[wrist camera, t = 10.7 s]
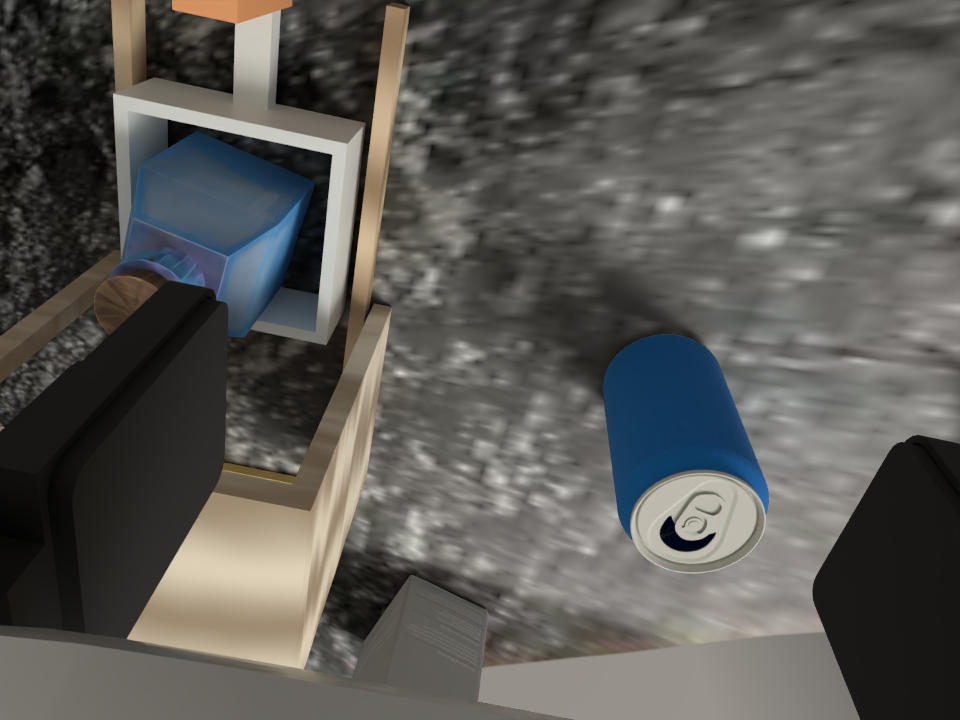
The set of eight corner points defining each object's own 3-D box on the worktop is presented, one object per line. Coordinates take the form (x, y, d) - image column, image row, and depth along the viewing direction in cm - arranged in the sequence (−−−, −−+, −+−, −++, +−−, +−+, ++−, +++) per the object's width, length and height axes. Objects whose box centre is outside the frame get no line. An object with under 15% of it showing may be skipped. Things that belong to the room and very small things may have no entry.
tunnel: (115, 249, 41) (-119, 426, 26) (391, 306, 41) (310, 511, 27) (124, 427, 47) (-62, 650, 33) (366, 475, 47) (288, 716, 33)
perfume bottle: (172, 238, 40) (44, 347, 30) (197, 130, 37) (64, 209, 27) (283, 283, 41) (195, 404, 31) (316, 182, 38) (231, 277, 28)
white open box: (150, -103, 32) (59, -109, 26) (386, -50, 33) (350, -44, 27) (159, 271, 41) (92, 331, 35) (344, 309, 41) (310, 376, 35)
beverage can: (582, 402, 44) (593, 551, 33) (635, 309, 40) (666, 442, 30) (682, 441, 44) (724, 598, 34) (742, 353, 41) (808, 497, 31)
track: (125, -57, 33) (108, -56, 32) (410, 6, 34) (404, 9, 33) (144, 437, 47) (132, 452, 46) (346, 478, 48) (341, 493, 46)
